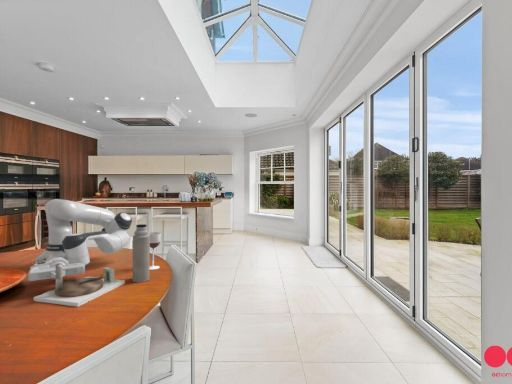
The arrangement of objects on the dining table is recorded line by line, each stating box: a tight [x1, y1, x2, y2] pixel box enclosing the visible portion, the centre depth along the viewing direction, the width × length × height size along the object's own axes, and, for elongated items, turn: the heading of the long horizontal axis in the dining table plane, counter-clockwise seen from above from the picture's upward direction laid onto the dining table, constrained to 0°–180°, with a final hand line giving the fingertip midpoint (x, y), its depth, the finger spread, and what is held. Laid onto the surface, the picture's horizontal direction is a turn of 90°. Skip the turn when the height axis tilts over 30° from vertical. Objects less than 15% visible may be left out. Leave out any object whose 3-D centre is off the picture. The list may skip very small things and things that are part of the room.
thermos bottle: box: [131, 224, 151, 283], centre depth 140 cm, size 8×8×28 cm
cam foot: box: [54, 265, 106, 297], centre depth 122 cm, size 20×18×12 cm
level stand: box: [33, 266, 126, 308], centre depth 123 cm, size 22×27×8 cm
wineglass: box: [148, 231, 162, 271], centre depth 161 cm, size 8×9×20 cm
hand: (58, 276), depth 117 cm, fingers closed
